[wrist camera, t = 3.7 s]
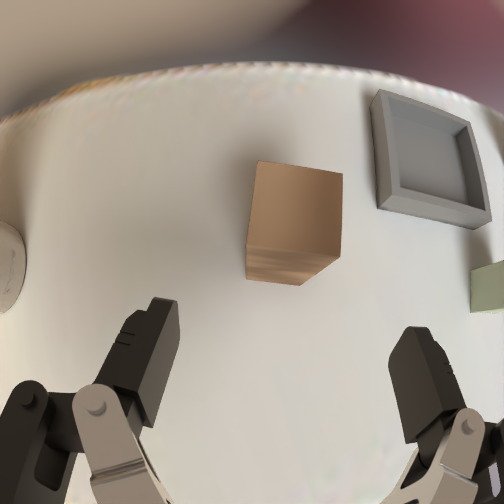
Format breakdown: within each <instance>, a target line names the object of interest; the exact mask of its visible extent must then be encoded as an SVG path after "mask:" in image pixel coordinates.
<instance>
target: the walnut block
mask: <svg viewBox="0 0 504 504" xmlns="http://www.w3.org/2000/svg"><path fill="white" fill-rule="evenodd" d="M342 192H343V174H342V173H336V172H331V171H325V170H319V169H313V168H307V167H300V166H294V165H287V164H280V163H272V162H264V161H258V163H257V170H256V177H255V185H254V192H253V199H252V206H251V213H250V221H249V228H248V235H247V242H246V279H249V280H257V281H265V282H273V283H281V284H290V285H298V286H300V285H301V284H303V283H304V282H306V281H307V280H309V279H310V278H311V277H313V276H314V275H316V274H317V273H318V272H320V271H321V270H323V269H324V268H325V267H327V266H328V265H330V264H331V263H332V262H334V261H335V260H336V259H338V258H339V257H340V253H341V232H342Z"/></svg>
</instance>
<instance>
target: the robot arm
mask: <svg viewBox="0 0 504 504" xmlns="http://www.w3.org/2000/svg"><path fill="white" fill-rule="evenodd" d="M25 267H26V255H25V248H24V244H23V240H22V238H21V236H20V234H19V232H18V231H17V230H16V229H15V228H14V227H12V226H10V225H8V224H6V223H4V222H2V221H1V220H0V313H4V312H5V311H7V310H8V309H9V308H10V307H11V306H12V305H13V304H14V302H15V300H16V299H17V297H18V295H19V293H20V290H21V287H22V284H23V280H24V275H25ZM179 340H180V327H179V316H178V304H177V301H175V300H169V299H163V298H158V297H154V298H153V299H152V301H151V303H150V305H149V307H148V309H147V311H143V310H137V311H135V312H134V313H133V314H132V315H131V316H129V317H128V318H127V319H126V321H125V323H124V324H123V326H122V328H121V330H120V333H119V334H118V336H117V338H116V340H115V343H113V345H112V347H111V349H110V351H109V353H108V355H107V357H106V359H105V361H104V363H103V365H102V367H101V369H100V371H99V374H98V376H97V378H96V379H95V381H94V382H93V383H92V384H91V385H87V386H85V387H83V388H81V389H80V390H79V391H78V392H77V393H56V392H47V391H46V389H45V388H44V387H43V385H42V384H40V383H39V382H37V381H33V380H27V381H23V382H21V383H19V384H18V385H17V386H16V387H15V388H14V389H13V391H12V393H11V395H10V397H9V399H8V401H7V403H6V405H5V407H4V409H3V411H2V414H1V416H0V504H64V501H65V497H66V493H67V489H68V485H69V481H70V478H71V474H72V471H73V467H74V464H75V460H76V457H77V454H78V453H85V455H86V457H87V460H88V463H89V466H90V469H91V473H92V476H91V478H90V484H91V488H92V491H93V493H94V496H95V498H96V501H97V503H98V504H174V502H173V501H172V499H171V497H170V496H169V494H168V492H167V491H166V489H165V488H164V486H163V484H162V483H161V481H160V479H159V477H158V475H157V473H156V471H155V469H154V467H153V465H152V463H151V461H150V459H149V457H148V455H147V453H146V451H145V449H144V447H143V445H142V443H141V440H140V438H139V437H140V434H141V430H142V427H143V426H146V427H149V428H153V425H154V422H155V419H156V415H157V412H158V409H159V406H160V402H161V399H162V396H163V393H164V390H165V386H166V383H167V380H168V377H169V374H170V371H171V368H172V365H173V362H174V359H175V356H176V353H177V349H178V346H179ZM449 363H450V362H449V360H448V358H447V355H446V353H445V351H444V350H443V349H442V347H441V346H440V345H439V344H438V343H437V341H434V339H433V337H432V335H431V333H430V330H429V329H428V328H427V327H412V326H409V327H407V328H406V329H405V331H404V332H403V334H402V336H401V337H400V339H399V341H398V342H397V344H396V346H395V347H394V349H393V351H392V352H391V354H390V357H389V362H388V368H389V372H390V376H391V380H392V384H393V388H394V392H395V396H396V400H397V405H398V409H399V414H400V418H401V423H402V427H403V432H404V437H405V443H406V444H409V443H415V442H417V444H418V447H417V448H416V449H415V450H414V452H413V454H412V456H411V458H410V460H409V462H408V464H407V466H406V468H405V470H404V472H403V473H402V475H401V477H400V479H399V481H398V482H397V484H396V486H395V488H394V489H393V491H392V492H391V493H390V494H389V495H388V496H387V497H386V498H385V499H384V500H383V501H382V502H381V503H380V504H504V418H503V419H502V420H501V421H500V422H499V423H498V424H497V423H490V422H484V421H483V418H482V417H481V415H480V414H479V413H478V412H477V411H475V410H473V409H471V408H467V407H466V404H465V402H464V399H463V396H462V393H461V391H460V388H459V385H458V383H457V380H456V377H455V375H454V374H453V370H452V367H451V365H449ZM495 462H497V467H498V473H499V478H500V484H501V489H500V492H499V494H498V495H497V497H494V496H493V493H492V487H491V480H490V474H489V469H488V467H489V466H491V465H492V464H494V463H495Z"/></svg>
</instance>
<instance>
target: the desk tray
mask: <svg viewBox="0 0 504 504" xmlns="http://www.w3.org/2000/svg"><path fill="white" fill-rule="evenodd" d="M370 114H371V123H372V132H373V142H374V154H375V167H376V185H377V209H382V210H387V211H392V212H397V213H402V214H407V215H411V216H416V217H421V218H425V219H430V220H434V221H439V222H443V223H447V224H451V225H456V226H460V227H464V228H468V229H472V230H475V229H477V228H479V227H481V226H483V225H485V224H487V223H489V222H491V221H492V216H491V209H490V203H489V197H488V192H487V186H486V181H485V177H484V172H483V168H482V163H481V159H480V155H479V151H478V148H477V144H476V140H475V137H474V134H473V130H472V127H471V124H470V122H469V121H466V120H464V119H462V118H460V117H457V116H455V115H453V114H450V113H448V112H445V111H443V110H440V109H438V108H435V107H433V106H430V105H427V104H425V103H422V102H419V101H416V100H413V99H410V98H407V97H404V96H401V95H398V94H395V93H392V92H388V91H385V90H381V89H379V90H378V92H377V94H376V96H375V98H374V100H373V102H372V104H371V105H370Z"/></svg>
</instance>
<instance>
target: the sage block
mask: <svg viewBox="0 0 504 504" xmlns="http://www.w3.org/2000/svg"><path fill="white" fill-rule="evenodd" d="M503 312H504V260H503V261H500V262H497V263H493V264H490V265H487V266H484V267H481V268H478V269H475V270H471V310H470V313H503Z"/></svg>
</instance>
